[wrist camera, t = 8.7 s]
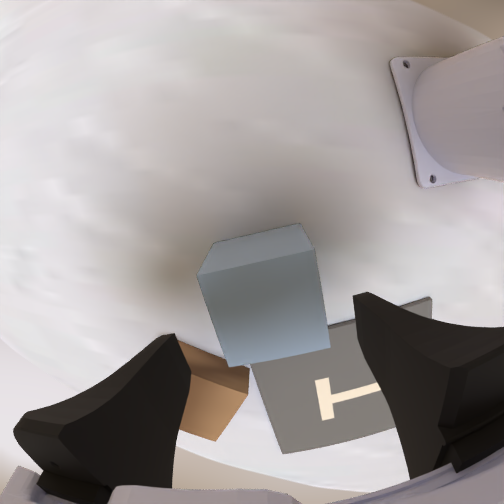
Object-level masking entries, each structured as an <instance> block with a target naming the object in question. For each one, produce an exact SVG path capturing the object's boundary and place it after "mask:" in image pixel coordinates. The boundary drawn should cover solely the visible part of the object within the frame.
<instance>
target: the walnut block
mask: <svg viewBox="0 0 504 504" xmlns="http://www.w3.org/2000/svg"><path fill="white" fill-rule="evenodd" d="M178 343H179V345H180V347H181V349H182V352H183V354H184V356H185V358H186V360H187V363H188V365H189V367H190V369H191V371H192V372H191V383H190V390H189V395H188V399H187V402H186V406H185V410H184V413H183V417H182V420H181V424H180V428H179V429H180V430H183V431H185V432H188V433H191V434H194V435H197V436H200V437H203V438H206V439H209V440H212V441H215V442H216V440H217V439H218V437H219V436H220V435H221V433H222V432H223V430H224V429H225V428H226V426H227V425H228V423H229V422H230V420H231V419H232V418H233V416H234V415H235V413H236V412H237V410H238V409H239V407H240V406H241V404H242V403H243V401H244V400H245V399H246V397H247V396H248V388H249V371H250V368H247V367H245V366H242V365H240V366H234V367H229V366H228V364H227V361H226V359H223V358H221V357H218V356H215V355H213V354H210V353H208V352H205V351H203V350H200V349H198V348H195V347H193V346H191V345H188V344H186V343H184V342H181V341H179V340H178Z"/></svg>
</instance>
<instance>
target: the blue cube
mask: <svg viewBox="0 0 504 504" xmlns="http://www.w3.org/2000/svg"><path fill="white" fill-rule="evenodd" d="M196 276H197V279H198V282H199V285H200V288H201V291H202V294H203V297H204V300H205V303H206V306H207V308H208V311H209V314H210V317H211V320H212V323H213V325H214V328H215V331H216V334H217V337H218V339H219V342H220V345H221V348H222V350H223V353H224V356H225V358H226V361H227V364H228V366H229V367H234V366H240V365H247V364H253V363H258V362H264V361H270V360H275V359H280V358H285V357H290V356H295V355H300V354H304V353H309V352H313V351H318V350H322V349H326V348H331V347H330V339H329V333H328V326H327V319H326V313H325V306H324V300H323V294H322V288H321V282H320V277H319V271H318V265H317V260H316V255H315V249H314V247H313V246H312V244H311V242H310V240H309V238H308V237H307V235H306V233H305V231H304V230H303V228H302V226H301V224H300V223H299V224H294V225H290V226H285V227H281V228H277V229H272V230H268V231H264V232H259V233H255V234H251V235H246V236H242V237H238V238H233V239H229V240H225V241H221V242H217V243H214V244H213V246H212V247H211V249H210V251H209V253H208V255H207V257H206V259H205V260H204V262H203V264H202V266H201V268H200V270H199V272H198V274H197V275H196Z"/></svg>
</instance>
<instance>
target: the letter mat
mask: <svg viewBox="0 0 504 504" xmlns="http://www.w3.org/2000/svg"><path fill="white" fill-rule="evenodd" d="M400 307H401V308H403V309H405V310H408V311H410V312H413V313H415V314H418V315H421V316H424V317H427V318H430V319H432V299H431V298H430V297H428V298H425V299H422V300H419V301H416V302H412V303H409V304H406V305H403V306H400ZM328 333H329V339H330V347H331V348H326V349H322V350H318V351H313V352H309V353H304V354H300V355H295V356H290V357H285V358H280V359H275V360H270V361H264V362H258V363H253V364H250V365H251V368H252V371H253V374H254V377H255V379H256V382H257V385H258V388H259V391H260V394H261V397H262V399H263V402H264V405H265V408H266V411H267V413H268V416H269V419H270V422H271V425H272V427H273V430H274V433H275V435H276V438H277V441H278V443H279V446H280V449H281V451H282V454H288V453H294V452H300V451H305V450H311V449H316V448H321V447H325V446H330V445H334V444H339V443H343V442H347V441H351V440H354V439H358V438H362V437H365V436H369V435H372V434H376V433H379V432H382V431H385V430H388V429H391V428H394V427H396V425H395V422H394V420H393V417H392V414H391V411H390V408H389V406H388V403H387V401H386V399H385V397H384V395H383V393H382V391H381V389H380V387H379V385H378V383H377V381H376V379H375V377H374V376H373V374H372V372H371V370H370V368H369V366H368V364H367V362H366V360H365V358H364V356H363V353H362V350H361V347H360V345H359V342H358V339H357V330H356V320H355V319H354V320H350V321H347V322H343V323H339V324H335V325H331V326H328Z"/></svg>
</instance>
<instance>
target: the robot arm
mask: <svg viewBox="0 0 504 504" xmlns="http://www.w3.org/2000/svg"><path fill="white" fill-rule="evenodd" d="M403 62H405V63H406V64H407V65H408V68H406V67H404V65H403ZM390 67H391V70H392V73H393V76H394V80H395V83H396V86H397V90H398V94H399V97H400V101H401V105H402V109H403V113H404V117H405V121H406V125H407V130H408V134H409V139H410V144H411V149H412V154H413V159H414V165H415V171H416V178H417V182H418V185H419V186H420V187H422V188H432V187H437V186H442V185H447V184H452V183H457V182H462V181H468V180H473V179H478V178H484V179H489V180H494V181H499V182H504V36H502V37H500V38H497V39H494V40H492V41H489V42H486V43H484V44H481V45H479V46H476V47H474V48H471V49H469V50H467V51H464V52H462V53H459V54H457V55H455V56H452V57H450V58H441V57H395V58H393V59H392V60H391V61H390ZM431 175H432V176H433V181H432V182H430V176H431ZM353 302H354V311H355V320H356V330H357V339H358V342H359V345H360V347H361V350H362V353H363V356H364V358H365V360H366V362H367V364H368V366H369V368H370V370H371V372H372V374H373V376H374V377H375V379H376V381H377V383H378V385H379V387H380V389H381V391H382V393H383V395H384V397H385V399H386V401H387V403H388V406H389V408H390V411H391V414H392V417H393V420H394V422H395V425H396V429H397V432H398V435H399V438H400V442H401V445H402V449H403V452H404V456H405V460H406V464H407V468H408V472H409V477H410V480H409V481H406V482H403V483H400V484H398V485H395V486H392V487H389V488H385V489H382V490H379V491H376V492H372V493H369V494H366V495H362V496H358V497H354V498H350V499H346V500H341V501H337V502H332V503H328V504H504V327H495V328H488V327H471V326H462V325H456V324H450V323H445V322H441V321H437V320H434V319H430V318H427V317H424V316H421V315H418V314H415V313H413V312H410V311H408V310H405V309H403V308H401V307H399V306H396V305H394V304H392V303H390V302H388V301H386V300H384V299H382V298H380V297H378V296H376V295H374V294H372V293H369V292H365V293H361V294H357V295H353ZM191 372H192V371H191V369H190V367H189V365H188V363H187V360H186V358H185V356H184V354H183V352H182V349H181V347H180V345H179V343H178V340H177V338H176V336H175V333H174V334H167V335H161V336H160V337H158V338H157V339H155V340H154V341H153V342H151V343H150V344H149V345H148V346H147V347H145V348H144V349H143V350H142V351H141V352H139V353H138V354H137V355H136V356H135V357H133V358H132V359H131V360H130V361H129V362H127V363H126V364H125V365H123V366H122V367H121V368H119V369H118V370H117V371H116V372H114V373H113V374H112V375H110V376H109V377H107V378H106V379H104V380H103V381H101V382H100V383H98V384H96V385H95V386H93V387H91V388H89V389H88V390H86V391H84V392H82V393H80V394H78V395H76V396H74V397H72V398H69V399H67V400H65V401H62V402H59V403H57V404H54V405H51V406H48V407H44V408H40V409H37V410H33V411H28V412H26V413H25V414H24V415H23V416H22V418H21V419H20V421H19V422H18V423H17V425H16V426H15V428H14V430H13V433H14V436H15V439H16V440H17V442H18V444H19V445H20V446H21V447H22V449H23V450H24V451H25V452H26V453H27V454H28V455H29V456H30V457H31V458H32V459H33V460H34V462H35V463H36V464H38V466H39V467H40V468H41V469H42V470H44V471H43V472H42V474H41V476H40V475H39V474H37V473H36V472H34V471H32V470H29V469H26V468H24V467H21V466H18V467H17V468H16V470H15V472H14V473H13V475H12V477H11V478H10V480H9V482H8V483H7V485H6V487H5V489H4V490H3V492H2V494H1V496H0V504H301V503H300V502H299V501H297V500H296V499H294V498H293V497H292V496H290V495H288V494H284V493H280V492H275V491H271V490H266V489H225V490H224V489H220V490H193V489H172V475H173V463H174V454H175V446H176V440H177V435H178V431H179V428H180V424H181V420H182V417H183V413H184V410H185V406H186V402H187V399H188V395H189V390H190V383H191Z"/></svg>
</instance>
